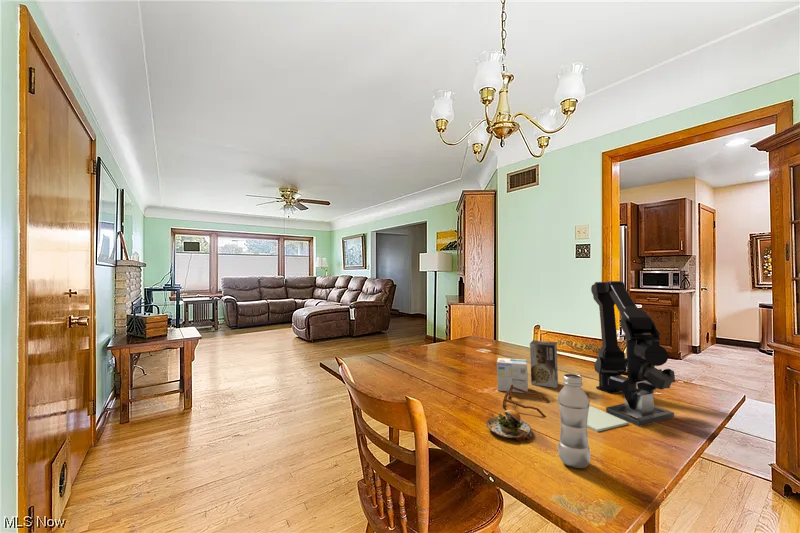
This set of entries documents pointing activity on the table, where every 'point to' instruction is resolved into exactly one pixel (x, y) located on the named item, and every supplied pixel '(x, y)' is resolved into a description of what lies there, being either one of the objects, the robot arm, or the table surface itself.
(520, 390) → the glasses
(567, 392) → the plastic bottle
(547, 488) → the table surface
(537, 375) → the coffee box
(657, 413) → the socket frame
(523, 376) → the light bulb box
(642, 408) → the block
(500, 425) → the burger
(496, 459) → the table surface
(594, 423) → the felt pad
